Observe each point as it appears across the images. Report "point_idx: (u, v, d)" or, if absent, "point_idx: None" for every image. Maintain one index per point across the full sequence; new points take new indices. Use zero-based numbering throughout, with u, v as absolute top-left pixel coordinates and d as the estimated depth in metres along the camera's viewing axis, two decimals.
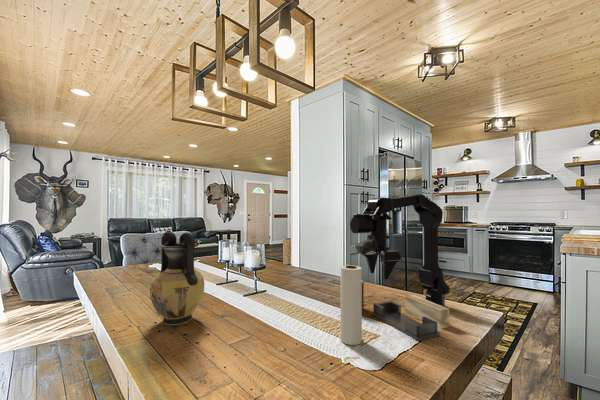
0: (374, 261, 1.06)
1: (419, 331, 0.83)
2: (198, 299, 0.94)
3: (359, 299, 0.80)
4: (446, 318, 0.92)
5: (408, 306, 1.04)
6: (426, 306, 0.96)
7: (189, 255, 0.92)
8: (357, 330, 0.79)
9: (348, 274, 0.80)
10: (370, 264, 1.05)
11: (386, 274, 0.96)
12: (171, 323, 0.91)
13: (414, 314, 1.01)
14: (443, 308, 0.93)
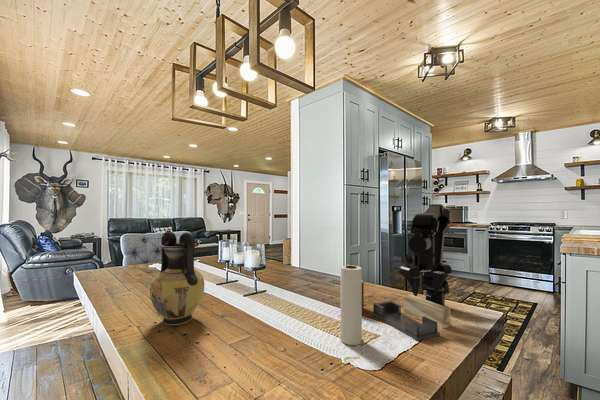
0: (439, 281, 1.00)
1: (419, 331, 0.83)
2: (198, 299, 0.94)
3: (359, 299, 0.80)
4: (447, 318, 0.92)
5: (408, 307, 1.03)
6: (427, 306, 0.96)
7: (189, 255, 0.92)
8: (357, 330, 0.79)
9: (348, 274, 0.80)
10: (434, 283, 1.01)
11: (413, 290, 0.98)
12: (171, 323, 0.91)
13: (414, 314, 1.01)
14: (444, 308, 0.93)
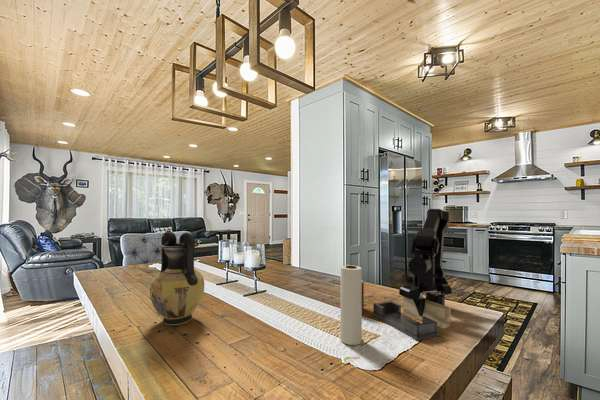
0: None
1: (419, 331, 0.83)
2: (198, 299, 0.94)
3: (359, 299, 0.80)
4: (448, 317, 0.92)
5: (407, 306, 1.03)
6: (427, 306, 0.96)
7: (189, 255, 0.92)
8: (357, 330, 0.79)
9: (348, 274, 0.80)
10: None
11: (418, 310, 0.98)
12: (171, 323, 0.91)
13: (414, 313, 1.01)
14: (445, 307, 0.93)
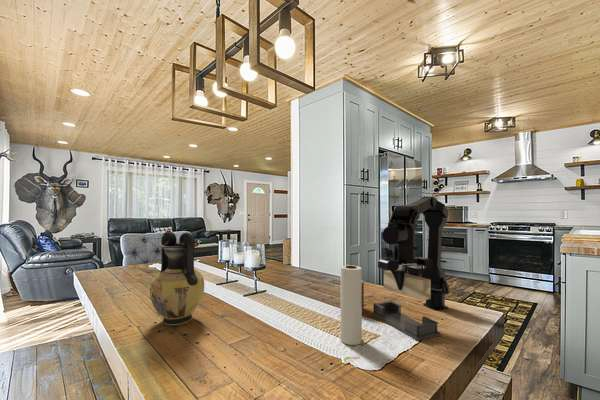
0: None
1: (419, 331, 0.83)
2: (198, 299, 0.94)
3: (359, 299, 0.80)
4: (427, 289, 0.88)
5: (387, 281, 0.99)
6: (406, 278, 0.92)
7: (189, 255, 0.92)
8: (357, 330, 0.79)
9: (348, 274, 0.80)
10: None
11: (397, 284, 0.94)
12: (171, 323, 0.91)
13: (394, 288, 0.96)
14: (424, 279, 0.89)
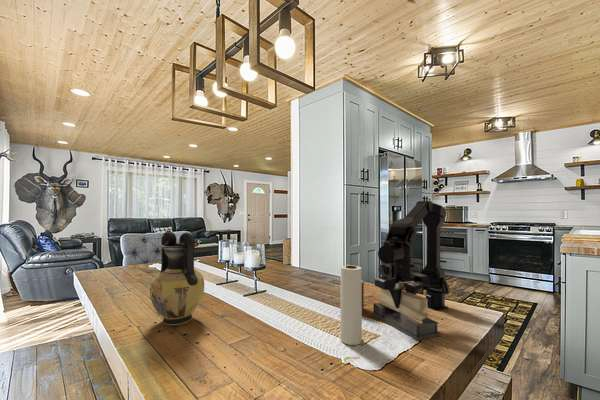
0: None
1: (419, 331, 0.83)
2: (198, 299, 0.94)
3: (359, 299, 0.80)
4: (424, 308, 0.87)
5: (385, 298, 0.98)
6: (403, 297, 0.91)
7: (189, 255, 0.92)
8: (357, 330, 0.79)
9: (348, 274, 0.80)
10: None
11: (394, 302, 0.93)
12: (171, 323, 0.91)
13: (391, 305, 0.96)
14: (421, 298, 0.88)
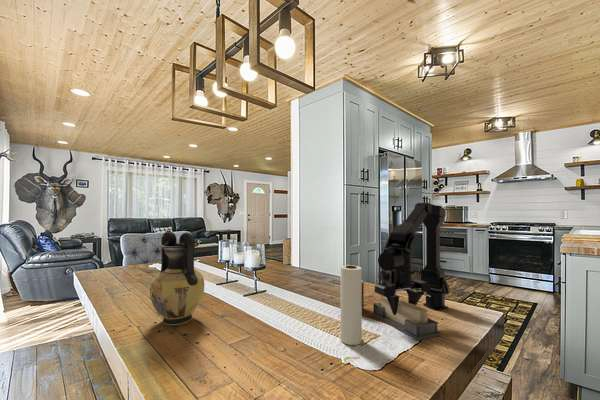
0: (414, 300, 0.94)
1: (419, 331, 0.83)
2: (198, 299, 0.94)
3: (359, 299, 0.80)
4: (424, 319, 0.87)
5: (385, 308, 0.98)
6: (403, 307, 0.91)
7: (189, 255, 0.92)
8: (357, 330, 0.79)
9: (348, 274, 0.80)
10: (409, 301, 0.96)
11: (392, 309, 0.93)
12: (171, 323, 0.91)
13: (391, 315, 0.96)
14: (421, 309, 0.88)
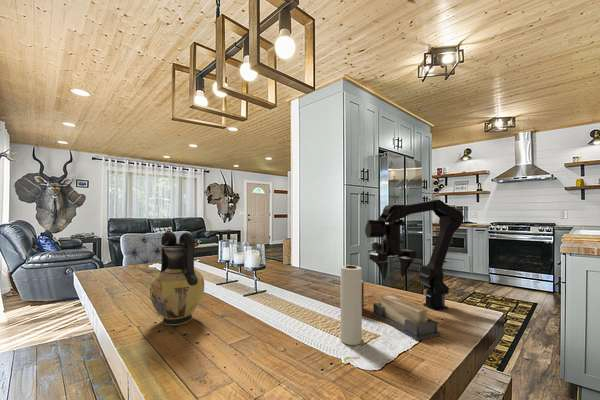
0: (405, 266, 1.09)
1: (419, 331, 0.83)
2: (198, 299, 0.94)
3: (359, 299, 0.80)
4: (424, 319, 0.87)
5: (385, 308, 0.98)
6: (403, 307, 0.91)
7: (189, 255, 0.92)
8: (357, 330, 0.79)
9: (348, 274, 0.80)
10: (401, 267, 1.11)
11: (381, 274, 1.07)
12: (171, 323, 0.91)
13: (391, 315, 0.96)
14: (421, 309, 0.88)
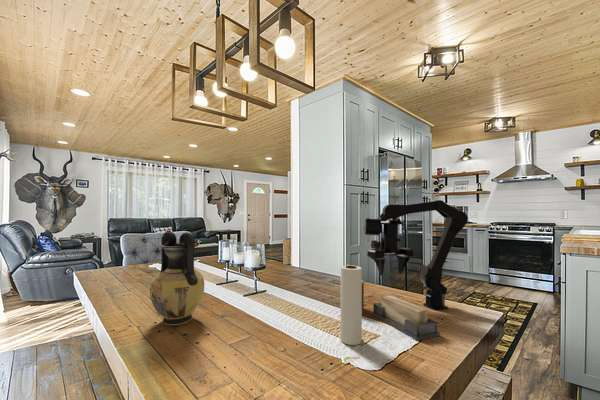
0: (403, 263, 1.14)
1: (419, 331, 0.83)
2: (198, 299, 0.94)
3: (359, 299, 0.80)
4: (424, 319, 0.87)
5: (385, 308, 0.98)
6: (403, 307, 0.91)
7: (189, 255, 0.92)
8: (357, 330, 0.79)
9: (348, 274, 0.80)
10: (398, 265, 1.16)
11: (379, 270, 1.12)
12: (171, 323, 0.91)
13: (391, 315, 0.96)
14: (421, 309, 0.88)
